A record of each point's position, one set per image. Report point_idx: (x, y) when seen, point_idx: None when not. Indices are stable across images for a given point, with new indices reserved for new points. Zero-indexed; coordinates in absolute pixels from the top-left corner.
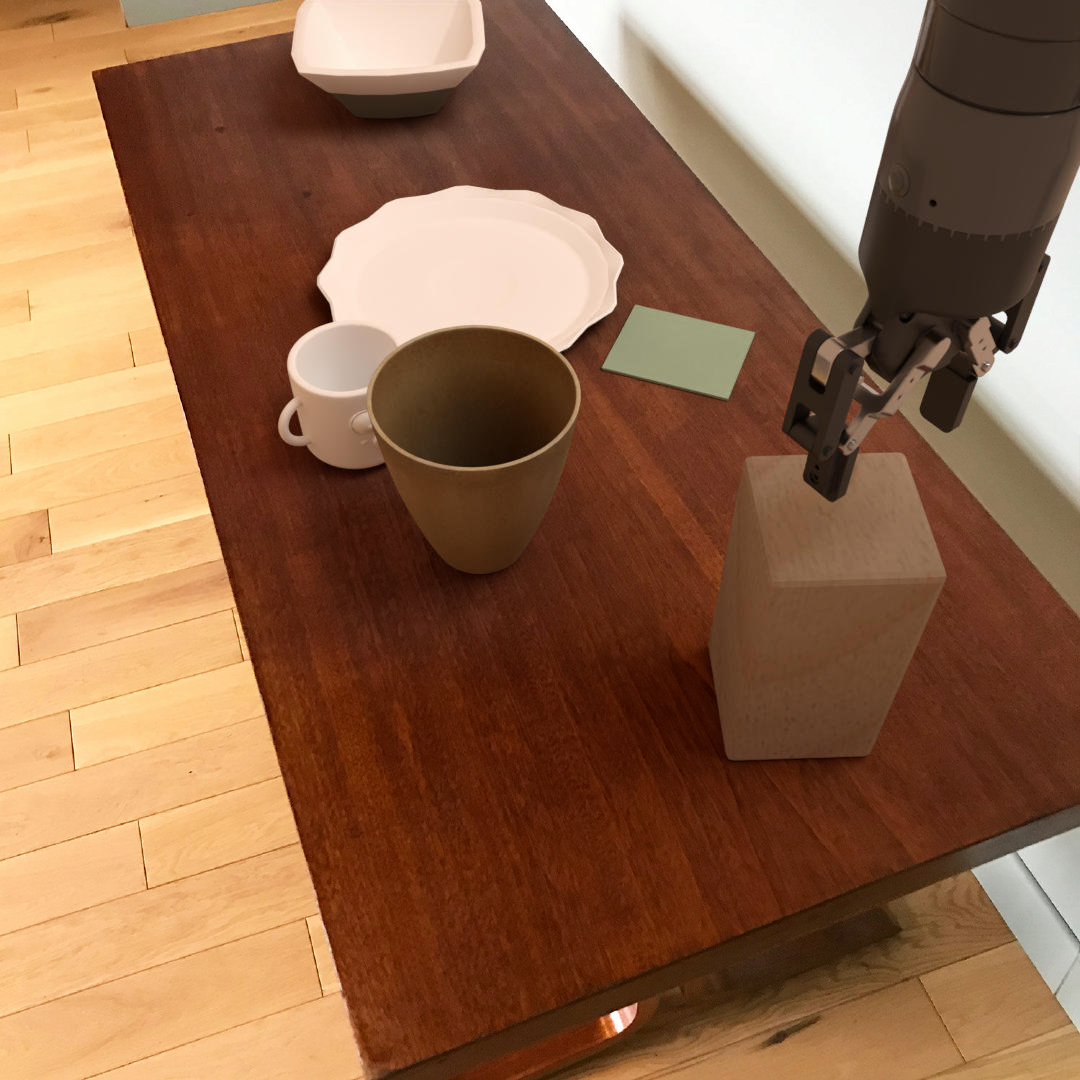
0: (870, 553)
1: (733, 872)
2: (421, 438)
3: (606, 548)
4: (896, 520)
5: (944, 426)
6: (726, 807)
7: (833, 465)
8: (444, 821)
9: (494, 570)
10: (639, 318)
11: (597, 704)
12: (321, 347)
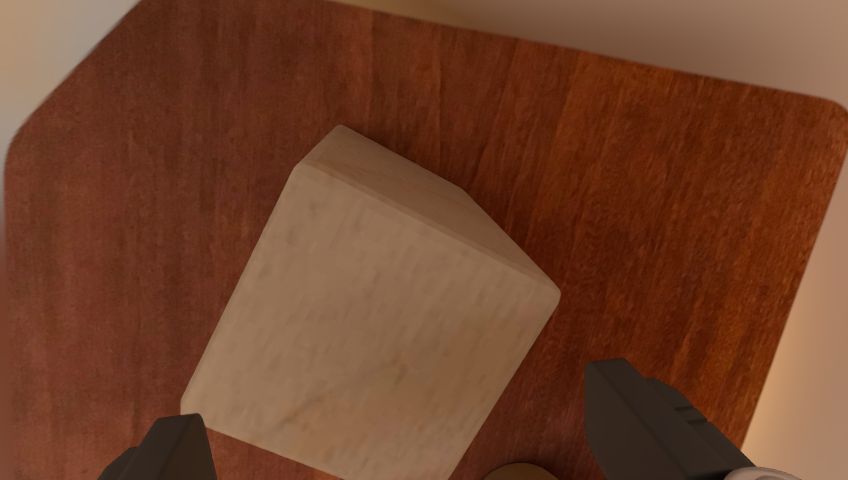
0: (389, 265)
1: (530, 94)
2: None
3: None
4: (299, 301)
5: (199, 434)
6: (494, 152)
7: (717, 448)
8: (703, 264)
9: (528, 464)
10: None
11: None
12: None
